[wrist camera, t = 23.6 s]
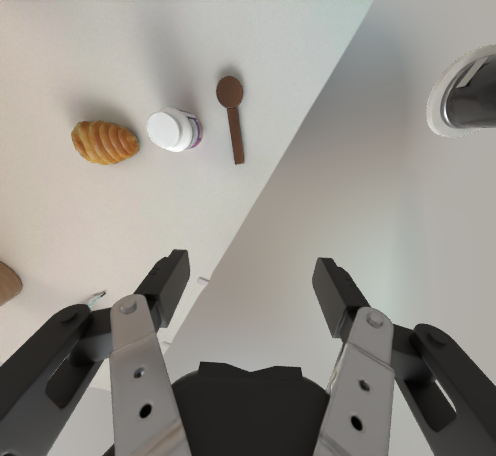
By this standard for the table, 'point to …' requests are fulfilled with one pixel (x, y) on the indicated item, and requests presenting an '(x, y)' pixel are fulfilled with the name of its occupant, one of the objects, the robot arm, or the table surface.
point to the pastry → (104, 142)
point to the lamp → (8, 284)
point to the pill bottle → (174, 129)
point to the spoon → (232, 111)
